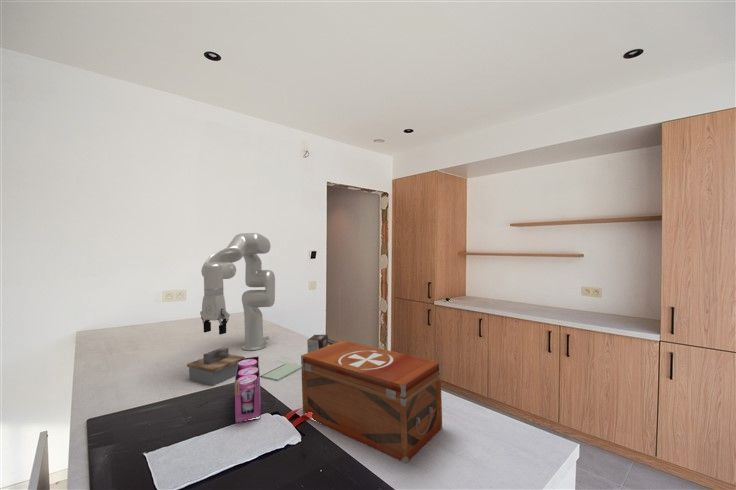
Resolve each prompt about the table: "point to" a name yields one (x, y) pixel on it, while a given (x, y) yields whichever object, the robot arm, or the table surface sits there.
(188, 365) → the lid
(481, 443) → the table surface
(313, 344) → the coffee box
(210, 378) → the storage box
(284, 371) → the sage mat
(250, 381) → the gum box
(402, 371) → the wooden box
